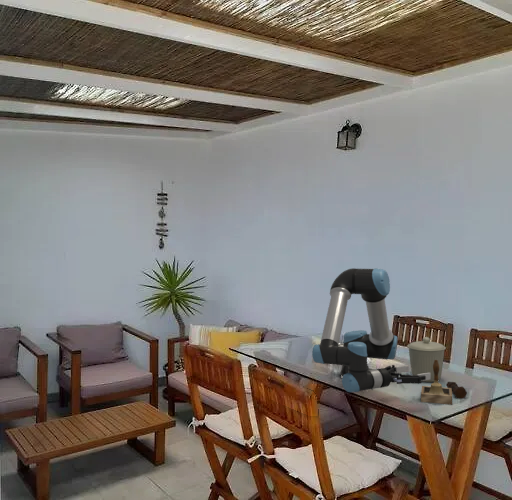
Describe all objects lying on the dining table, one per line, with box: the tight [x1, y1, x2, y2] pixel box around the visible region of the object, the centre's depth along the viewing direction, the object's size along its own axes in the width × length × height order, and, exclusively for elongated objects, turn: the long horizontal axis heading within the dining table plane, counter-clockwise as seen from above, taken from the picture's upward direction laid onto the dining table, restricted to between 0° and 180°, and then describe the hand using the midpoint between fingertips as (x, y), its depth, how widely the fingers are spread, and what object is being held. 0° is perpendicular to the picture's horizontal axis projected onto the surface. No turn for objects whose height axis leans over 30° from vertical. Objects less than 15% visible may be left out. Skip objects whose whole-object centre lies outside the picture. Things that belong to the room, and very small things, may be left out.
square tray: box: [420, 385, 453, 405], centre depth 228 cm, size 12×12×4 cm
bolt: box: [445, 381, 468, 400], centre depth 235 cm, size 6×5×15 cm
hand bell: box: [428, 360, 445, 395], centre depth 227 cm, size 8×8×16 cm
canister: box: [406, 336, 447, 383], centre depth 258 cm, size 18×18×21 cm
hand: (418, 372), depth 223 cm, fingers open, 13 cm apart
